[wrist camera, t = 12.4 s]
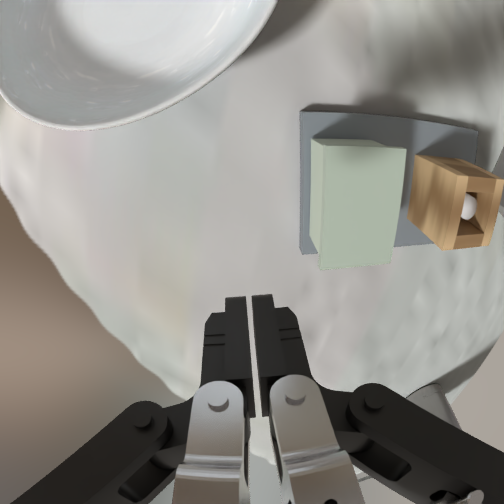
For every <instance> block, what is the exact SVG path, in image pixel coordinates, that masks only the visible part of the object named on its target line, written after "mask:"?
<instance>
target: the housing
mask: <svg viewBox="0 0 504 504" xmlns="http://www.w3.org/2000/svg"><path fill="white" fill-rule="evenodd" d="M405 161H406V149H405V148H403V147H394V146H385V145H383V144H380V143H378V142H375V141H373V140H361V139H311V194H310V229H309V236H310V238H311V240H312V242H313V244H314V246H315V248H316V250H317V252H318V254H319V261H318V266H319V269H320V270H329V269H339V268H349V267H359V266H369V265H379V264H388V263H390V262H391V257H392V252H393V247H394V241H395V236H396V230H397V224H398V218H399V211H400V204H401V197H402V189H403V181H404V171H405Z"/></svg>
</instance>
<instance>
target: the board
mask: <svg viewBox="0 0 504 504" xmlns="http://www.w3.org/2000/svg"><path fill="white" fill-rule="evenodd" d="M311 139H361V140H373V141H375V142H378V143H380V144H383V145H385V146H394V147H403V148H405V149H406V161H405V171H404V181H403V189H402V197H401V204H400V211H399V218H398V224H397V230H396V236H395V241H394V247H399V246H411V245H422V244H434V242H433V241H431V240H430V239H429V238H428V237H427V236H426V235H425V234H424V233H423V232H422V231H421V230H419V229H418V228H417V227H416V226H415V225H414V224H413V223H412V222H410V221H409V220H408V219H407V214H408V207H409V201H410V193H411V186H412V177H413V168H414V158H415V155H426V156H438V157H447V158H456V159H463V160H465V161H467V162H470V163H472V164H474V165H475V160H476V152H477V142H478V131H476V130H473V129H469V128H464V127H459V126H454V125H449V124H443V123H438V122H432V121H425V120H418V119H411V118H403V117H395V116H386V115H375V114H363V113H347V112H321V111H300V247H299V248H300V250H301V253H302V255H303V254H316V253H318V252H317V250H316V248H315V246H314V244H313V242H312V240H311V238H310V236H309V229H310V194H311ZM476 209H477V201H476V199H475V198H474V197H472V196H471V195H469V194H467V193H466V194H465V200H464V205H463V210H462V214H461V217H462V218H463V219H465V220H468V219H470V218H471V217H473V215H474V214H475V212H476Z"/></svg>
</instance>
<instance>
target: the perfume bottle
mask: <svg viewBox="0 0 504 504" xmlns="http://www.w3.org/2000/svg"><path fill="white" fill-rule="evenodd" d="M492 174H494V175H496V176H498V177H500V178H502V179H504V147H503V150H502V152H501V154H500V156H499V159H498V161H497V163H496V165H495V167H494V169H493V172H492ZM498 211H499V212H500V214H501V215H502V216H503V217H504V186H503V191H502V196H501V201H500V206H499V210H498Z"/></svg>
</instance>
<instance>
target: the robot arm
mask: <svg viewBox="0 0 504 504" xmlns="http://www.w3.org/2000/svg"><path fill="white" fill-rule="evenodd" d="M252 310H253V324H254V337H255V348H256V358H257V368H258V378H259V388H260V398H261V408H262V417H265V416H269V423H270V437H271V442H272V448H273V453H274V458H275V463H276V468H277V473H278V478H279V483H280V490H281V498H282V503H283V504H365V502H364V499H363V495H362V493H361V489H360V487H359V483H358V480H357V477H356V474H355V471H354V468H353V465H355V466H356V467H357V468H359V469H360V470H362V471H363V472H365V473H367V474H368V475H369V476H371V477H373V478H374V479H376V480H377V481H379V482H381V483H382V484H384V485H385V486H387V487H388V488H390V489H392V490H393V491H395V492H397V493H398V494H400V495H402V496H403V497H405V498H407V499H409V500H410V501H412V502H414V503H416V504H504V453H503V452H502V451H500V450H497V449H496V448H494V447H492V446H490V445H488V444H486V443H484V442H482V441H481V440H479V439H477V438H475V437H473V436H471V435H469V434H468V433H466V432H464V431H462V429H461V427H460V425H459V423H458V421H457V419H456V417H455V414H454V412H453V410H452V408H451V406H450V404H449V402H448V400H447V398H446V396H445V394H444V392H443V391H442V389H441V387H440V385H439V384H432V385H428V386H426V387H423V388H421V389H419V390H418V391H416V392H414V393H413V394H411V395H410V396H409V397H407V398H404V397H402V396H401V395H399V394H397V393H396V392H394V391H392V390H391V389H389V388H387V387H386V386H384V385H381V384H377V383H368V384H364V385H362V386H360V387H358V388H357V389H355V390H354V392H343V391H334V390H330V389H327V388H325V387H323V386H321V385H319V384H318V383H317V382H316V381H315V380H314V378H313V377H312V375H311V372H310V368H309V364H308V360H307V356H306V352H305V348H304V344H303V340H302V336H301V332H300V330H299V325H298V321H297V317H296V315H295V314H294V313H293V312H292V311H291V310H290V309H289V308H288V307H282V308H275V307H274V302H273V297H272V294H266V295H254V296H252ZM203 345H204V347H203V357H202V372H201V384H200V387H199V389H198V390H197V392H196V393H195V395H194V396H193V397H192V398H190V399H189V400H187V401H185V402H184V403H180V404H177V405H173V406H170V407H166V408H162V407H161V406H160V405H158V404H156V403H154V402H151V401H140V402H136V403H134V404H132V405H130V406H129V407H128V408H126V409H125V410H124V411H123V412H122V413H121V414H119V415H118V416H117V417H116V418H115V419H114V420H113V421H112V422H110V423H109V424H108V425H107V426H106V427H104V428H103V429H102V430H101V431H100V432H99V433H98V434H96V435H95V436H94V437H93V438H91V439H90V440H89V441H88V442H87V443H85V444H84V445H83V446H82V447H81V448H79V449H78V450H77V451H76V452H75V453H74V454H72V455H71V456H70V457H69V458H67V459H66V460H65V461H64V462H63V463H61V464H60V465H59V466H58V467H56V468H55V469H54V470H53V471H51V472H50V473H49V474H48V475H46V476H45V477H44V478H43V479H41V480H40V481H39V482H38V483H36V484H35V485H34V486H33V487H31V488H30V489H29V490H27V491H26V492H25V493H24V494H22V495H21V496H20V497H19V498H17V499H16V500H14V501H13V502H12V503H11V504H148V503H150V502H151V501H152V500H153V499H154V498H155V497H156V496H157V495H158V494H159V493H160V492H161V491H162V490H163V489H164V488H165V487H166V486H167V485H168V484H169V483H170V482H172V480H173V479H175V483H174V491H173V499H172V504H250V492H249V446H250V439H249V438H250V434H251V431H250V418H255V417H256V414H255V402H254V390H253V378H252V365H251V353H250V340H249V328H248V316H247V305H246V296H243V297H229V298H225V312H220V313H212V314H211V315H210V317H209V318H208V320H207V321H206V323H205V331H204V344H203ZM352 464H353V465H352Z"/></svg>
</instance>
